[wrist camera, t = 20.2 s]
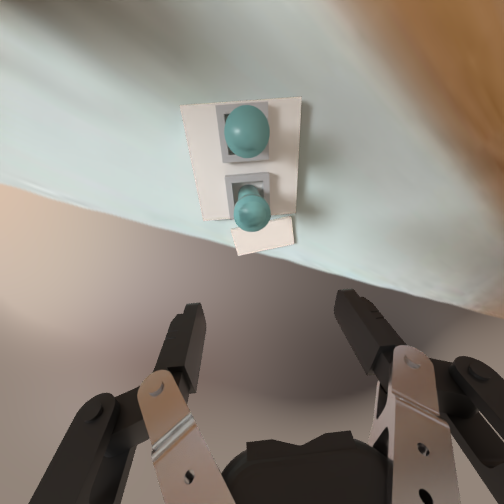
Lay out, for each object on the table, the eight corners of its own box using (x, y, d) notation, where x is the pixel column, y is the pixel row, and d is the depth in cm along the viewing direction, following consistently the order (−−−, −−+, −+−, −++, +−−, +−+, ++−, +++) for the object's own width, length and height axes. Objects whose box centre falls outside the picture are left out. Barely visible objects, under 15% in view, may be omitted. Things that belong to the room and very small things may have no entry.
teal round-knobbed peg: (233, 181, 33) (231, 198, 24) (261, 179, 33) (270, 194, 24) (236, 209, 35) (235, 233, 26) (262, 207, 35) (271, 230, 26)
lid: (238, 253, 42) (238, 255, 41) (230, 228, 39) (230, 230, 38) (293, 242, 41) (294, 243, 41) (290, 215, 38) (291, 217, 38)
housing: (204, 217, 37) (201, 224, 34) (183, 107, 29) (176, 103, 25) (293, 209, 38) (298, 216, 34) (297, 99, 29) (305, 94, 26)
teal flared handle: (226, 116, 28) (221, 106, 19) (259, 113, 28) (269, 103, 19) (230, 153, 30) (227, 159, 22) (260, 151, 31) (270, 156, 22)
